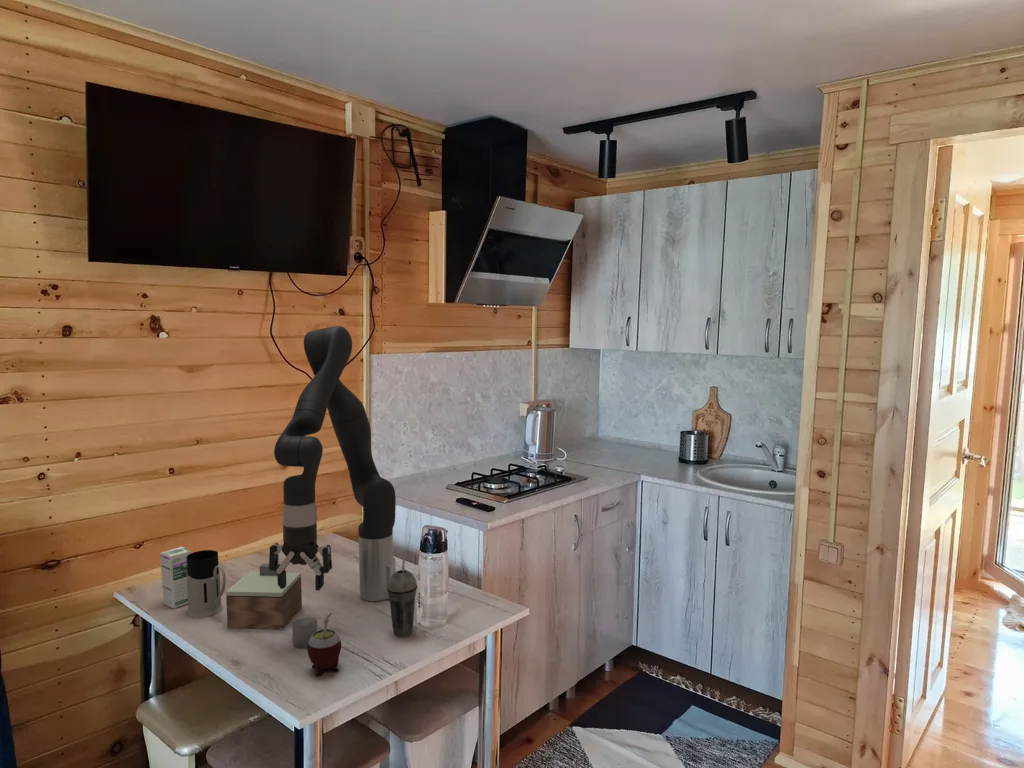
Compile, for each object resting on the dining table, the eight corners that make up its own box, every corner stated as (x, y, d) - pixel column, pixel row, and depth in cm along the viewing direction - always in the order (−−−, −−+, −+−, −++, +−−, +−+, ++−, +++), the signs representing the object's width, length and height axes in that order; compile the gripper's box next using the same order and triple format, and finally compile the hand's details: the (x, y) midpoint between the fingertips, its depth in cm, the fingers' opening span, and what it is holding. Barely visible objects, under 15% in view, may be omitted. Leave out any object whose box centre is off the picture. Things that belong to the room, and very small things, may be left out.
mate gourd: (320, 659, 153) (318, 595, 151) (351, 664, 151) (349, 599, 149) (300, 676, 146) (298, 609, 144) (333, 681, 144) (330, 613, 142)
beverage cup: (381, 637, 163) (380, 556, 161) (398, 624, 170) (396, 546, 168) (408, 642, 161) (406, 560, 159) (423, 629, 167) (422, 550, 165)
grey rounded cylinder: (321, 637, 163) (320, 617, 163) (312, 649, 158) (312, 628, 157) (298, 637, 164) (297, 617, 163) (289, 648, 158) (288, 627, 158)
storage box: (302, 606, 180) (301, 577, 180) (282, 629, 168) (281, 597, 167) (250, 605, 181) (249, 576, 180) (227, 627, 168) (226, 596, 168)
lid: (300, 576, 180) (300, 563, 179) (281, 596, 167) (281, 582, 166) (249, 575, 180) (248, 562, 180) (226, 595, 167) (225, 581, 167)
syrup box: (173, 609, 179) (170, 556, 177) (162, 603, 182) (159, 551, 181) (194, 602, 183) (192, 550, 182) (183, 596, 187) (180, 545, 185)
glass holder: (211, 600, 184) (208, 546, 183) (242, 614, 176) (239, 557, 175) (179, 612, 177) (177, 556, 176) (210, 626, 169) (207, 568, 167)
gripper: (263, 524, 155) (264, 593, 156) (324, 527, 154) (325, 596, 155) (276, 515, 162) (278, 581, 164) (335, 517, 161) (336, 583, 163)
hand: (300, 588), depth 159 cm, fingers open, 8 cm apart
